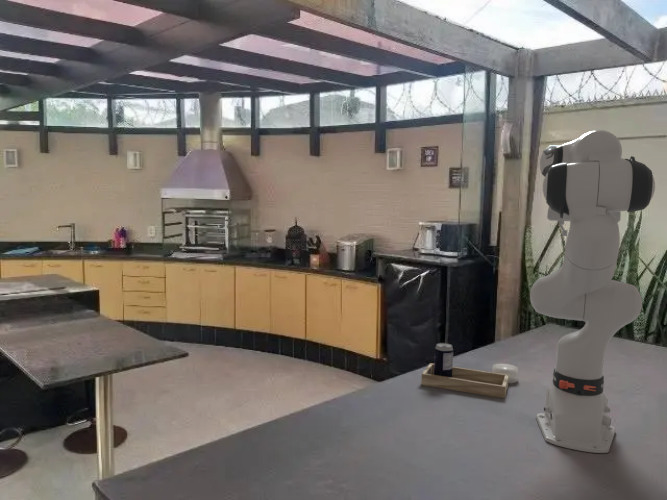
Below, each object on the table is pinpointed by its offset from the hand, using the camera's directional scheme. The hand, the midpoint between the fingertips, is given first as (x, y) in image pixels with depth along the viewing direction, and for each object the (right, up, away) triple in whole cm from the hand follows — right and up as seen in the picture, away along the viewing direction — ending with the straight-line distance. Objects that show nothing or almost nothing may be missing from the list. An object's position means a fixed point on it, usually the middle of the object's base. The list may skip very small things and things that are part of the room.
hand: (581, 236), depth 161 cm
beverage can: (-41, -46, +7) cm, 62 cm away
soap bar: (-20, -47, +11) cm, 52 cm away
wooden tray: (-35, -47, +4) cm, 58 cm away
